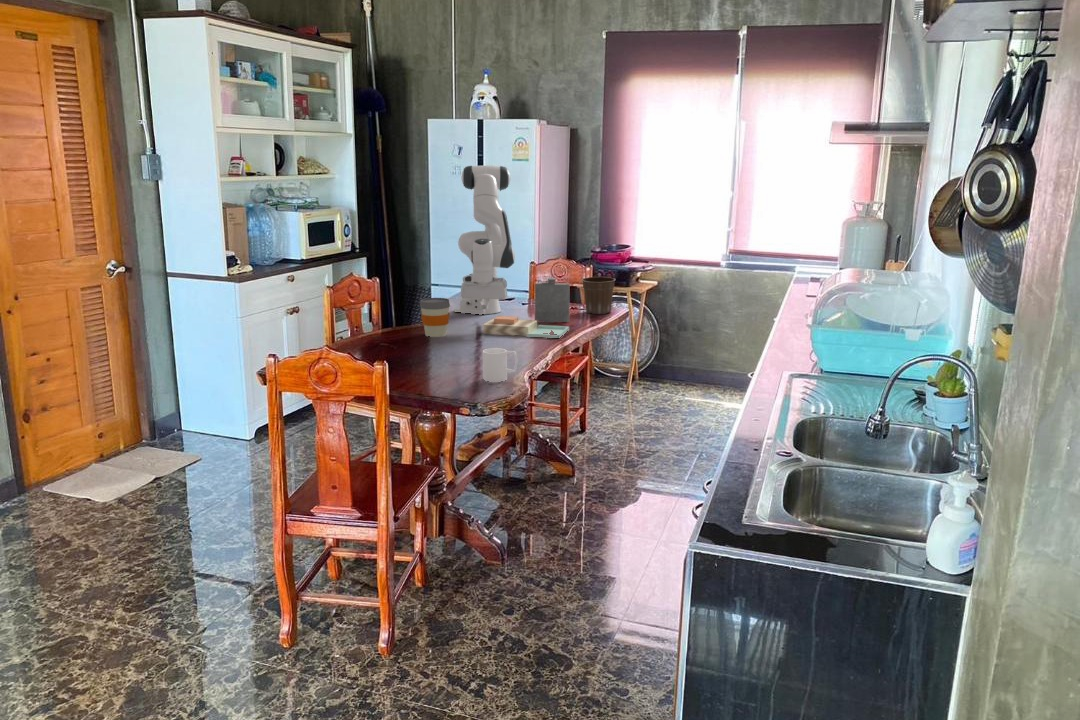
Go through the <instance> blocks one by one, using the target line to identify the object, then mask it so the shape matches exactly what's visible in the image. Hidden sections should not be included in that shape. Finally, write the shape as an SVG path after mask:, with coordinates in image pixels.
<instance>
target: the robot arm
mask: <svg viewBox="0 0 1080 720" xmlns="http://www.w3.org/2000/svg"><path fill="white" fill-rule="evenodd" d="M510 173H511V172H510V171H509V168H508V167H506V166H503V165H502V166H501V165H500V166H498V165H490V164H489V165H488V164H486V165H467V166H465V167H464V168H463V170H462V173H461V182H462V185H463V187H464V188H465V189H468V190H471V191H472V190H473V198H472V199H473V201H472V202H473V218H474V220H475V221H476V222H477V223H479V224H481V225H484V229H485V230H478V231H477V230H476V231H474V230H473V231H467V232H464V233H462V234H460V236H459V237H458V241H457V243H458V248H459V250H460V252H461V253H462V254H464V255H465V256H466V257H467V258H468V259H469V261H470V263H471V264H472V268H473V269H472V273H469V274H468V275H465V276H463V277H462V283H461V287H460V296H461V298H460V300H459V303H458V305H459V306H458V307H456V308H455V309H454V313H455V312H461V313H460V314H465V313H471V314H470V315H475V314H479V315H478V316H482V314H484V315H491V314H492V315H493V314H498V313H500V312H502V308H501V305H500V302H499V301H500V300H506V299H507V298H508V290H507V288H508V287H507V286H508V283H507V279H505V278H504V277H498V268H500V269H509V268H510V267H511V266H513V265H514V264H515V259H516V254H515V251H514V247H513V245H512V237H511V232H510V228H509V227H510V226H509V222H508V218H507V217H508V216H507V213H506V211H505V209H502V207H501V205H500V203H499V192H501V191H504V190H506V189H507V188H508V187H509V185H510V182H511V174H510Z"/></svg>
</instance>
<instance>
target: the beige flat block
mask: <svg viewBox="0 0 1080 720" xmlns="http://www.w3.org/2000/svg"><path fill="white" fill-rule="evenodd" d="M494 318H495V317H494ZM494 318H493V317H492V319H490V320H489V321H487V322H485V323H484V324H483V325H482V326H483V327H482V328H483V335H484V334H486V335H499V336H514V335H524V336H523V337H527V333H532V332H533V331H535V330H536V329H537V328H538V322H537V320H535V319H534V320H533V319H518V322H517V323H515V324H500V323H494Z"/></svg>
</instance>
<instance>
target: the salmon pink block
mask: <svg viewBox="0 0 1080 720" xmlns="http://www.w3.org/2000/svg"><path fill="white" fill-rule="evenodd" d="M518 320H519V317H518V316H504V315H498V316H496V317H494V323H500V324H515V323H517V322H518Z"/></svg>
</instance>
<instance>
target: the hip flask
mask: <svg viewBox="0 0 1080 720" xmlns="http://www.w3.org/2000/svg"><path fill="white" fill-rule="evenodd" d="M556 281H557V278H554V277H551V278H550V277H549V278H547V282H545V281H544V282H535V283H534V320H537V321H542V322H541V323H554V322H567V323H570V298H571V297H570V295H571V293H570V284H571V283H569V282H568V283H556ZM543 321H544V322H543Z"/></svg>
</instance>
